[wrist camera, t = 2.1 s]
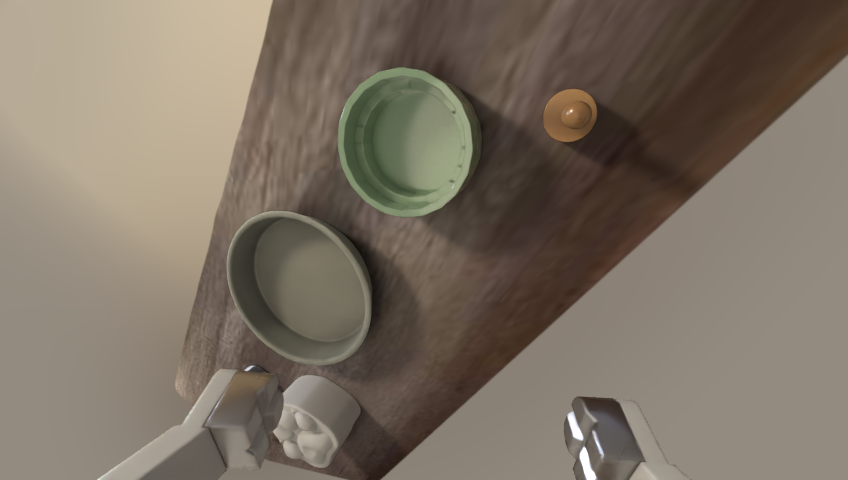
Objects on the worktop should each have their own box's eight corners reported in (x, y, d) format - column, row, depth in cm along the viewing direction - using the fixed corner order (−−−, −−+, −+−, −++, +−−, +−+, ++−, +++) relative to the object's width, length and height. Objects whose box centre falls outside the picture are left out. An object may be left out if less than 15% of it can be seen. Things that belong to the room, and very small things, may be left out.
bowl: (369, 65, 44) (343, 57, 39) (496, 85, 40) (487, 81, 35) (357, 190, 50) (333, 199, 44) (467, 218, 46) (456, 232, 40)
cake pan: (305, 368, 63) (288, 385, 59) (223, 249, 61) (199, 258, 57) (414, 318, 53) (403, 335, 49) (320, 172, 51) (300, 177, 47)
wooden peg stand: (551, 87, 38) (549, 67, 23) (601, 95, 37) (633, 79, 22) (538, 135, 40) (528, 146, 25) (585, 144, 39) (605, 161, 24)
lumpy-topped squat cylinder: (346, 440, 66) (318, 483, 58) (288, 400, 67) (253, 437, 60) (365, 403, 61) (338, 445, 54) (302, 362, 63) (267, 396, 55)
